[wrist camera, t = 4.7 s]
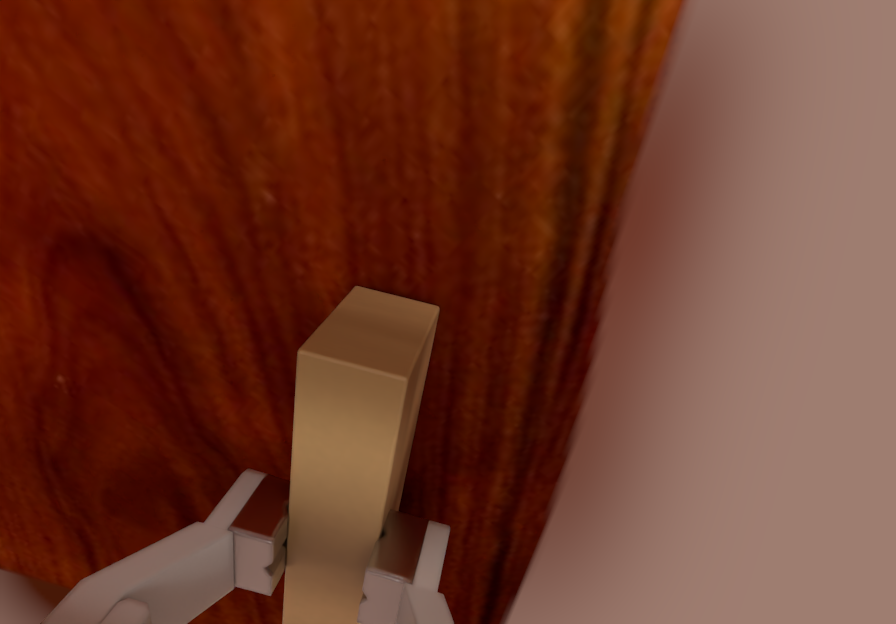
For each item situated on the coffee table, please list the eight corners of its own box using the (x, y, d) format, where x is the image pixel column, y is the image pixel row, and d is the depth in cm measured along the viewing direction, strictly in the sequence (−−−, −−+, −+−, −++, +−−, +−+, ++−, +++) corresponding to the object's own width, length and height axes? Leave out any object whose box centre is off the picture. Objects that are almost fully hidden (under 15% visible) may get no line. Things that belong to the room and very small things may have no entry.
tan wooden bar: (355, 283, 11) (295, 350, 8) (440, 305, 11) (408, 379, 8) (323, 565, 15) (278, 666, 13) (383, 582, 15) (350, 688, 13)
